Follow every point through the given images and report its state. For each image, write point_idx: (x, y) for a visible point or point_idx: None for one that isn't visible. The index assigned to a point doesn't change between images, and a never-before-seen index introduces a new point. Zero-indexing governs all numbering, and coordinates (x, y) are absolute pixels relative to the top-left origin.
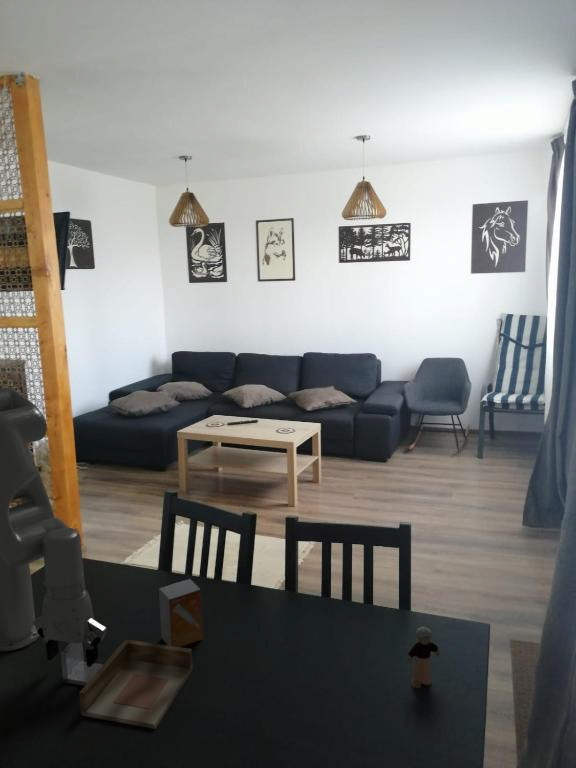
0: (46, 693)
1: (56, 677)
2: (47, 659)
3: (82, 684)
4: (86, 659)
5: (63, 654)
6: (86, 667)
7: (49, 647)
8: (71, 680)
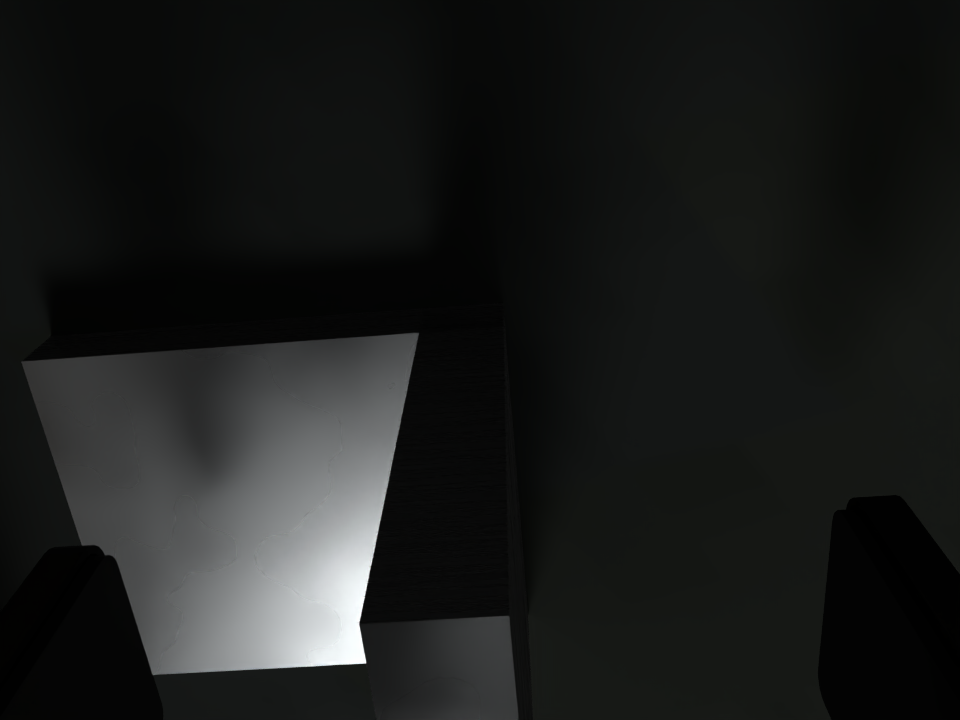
0: (578, 13)
1: (661, 349)
2: (901, 498)
3: (195, 328)
4: (52, 636)
5: (423, 593)
6: (344, 581)
7: (956, 700)
8: (363, 330)
